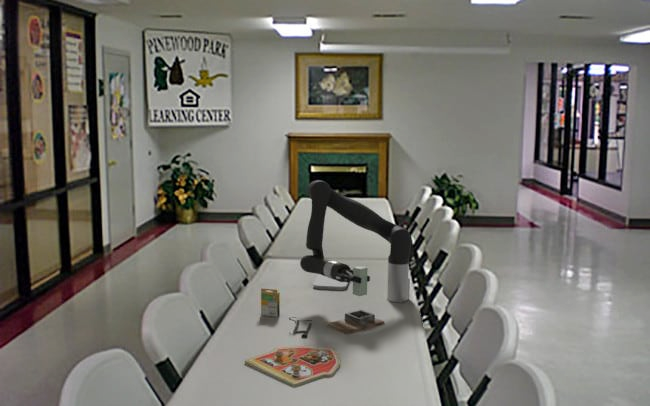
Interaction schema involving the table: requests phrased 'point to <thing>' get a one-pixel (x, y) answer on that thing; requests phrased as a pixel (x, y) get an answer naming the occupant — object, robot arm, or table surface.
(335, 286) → the tablet
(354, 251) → the table surface
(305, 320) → the hacksaw
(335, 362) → the knob puzzle
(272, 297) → the crayon box
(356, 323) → the tool stand
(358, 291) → the peg block
